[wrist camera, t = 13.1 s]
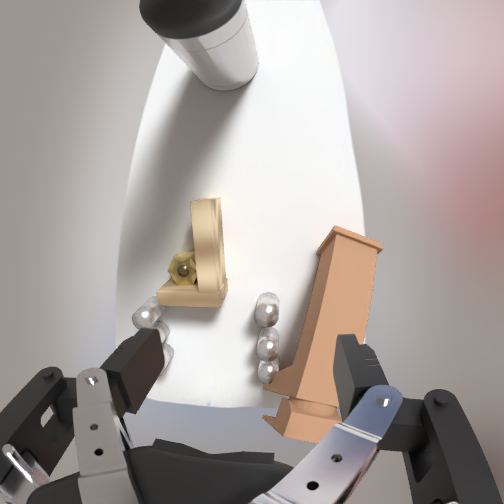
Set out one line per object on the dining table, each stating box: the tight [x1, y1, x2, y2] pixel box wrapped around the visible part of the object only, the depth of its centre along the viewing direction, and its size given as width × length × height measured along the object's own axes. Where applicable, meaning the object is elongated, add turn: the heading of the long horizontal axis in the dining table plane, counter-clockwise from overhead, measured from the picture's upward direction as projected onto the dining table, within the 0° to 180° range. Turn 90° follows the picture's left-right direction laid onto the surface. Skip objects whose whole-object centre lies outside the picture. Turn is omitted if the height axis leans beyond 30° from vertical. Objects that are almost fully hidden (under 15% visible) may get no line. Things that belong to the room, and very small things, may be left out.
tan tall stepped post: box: [263, 226, 383, 443], centre depth 39 cm, size 7×23×25 cm
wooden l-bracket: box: [156, 197, 228, 307], centre depth 39 cm, size 14×9×6 cm, turn 3°
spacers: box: [132, 292, 279, 384], centre depth 42 cm, size 14×22×6 cm, turn 93°
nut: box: [168, 252, 197, 285], centre depth 41 cm, size 4×5×3 cm
